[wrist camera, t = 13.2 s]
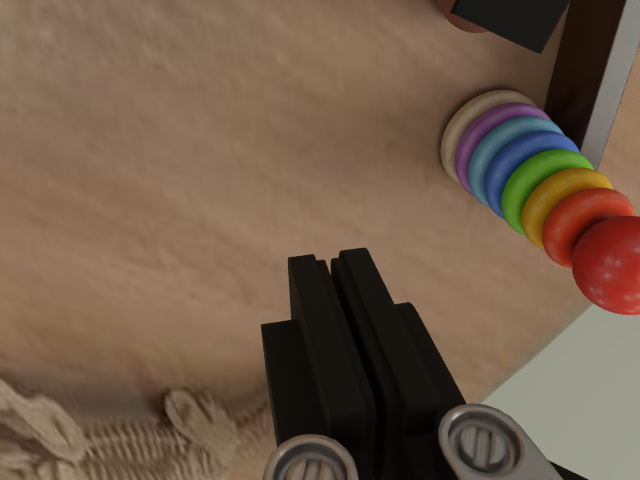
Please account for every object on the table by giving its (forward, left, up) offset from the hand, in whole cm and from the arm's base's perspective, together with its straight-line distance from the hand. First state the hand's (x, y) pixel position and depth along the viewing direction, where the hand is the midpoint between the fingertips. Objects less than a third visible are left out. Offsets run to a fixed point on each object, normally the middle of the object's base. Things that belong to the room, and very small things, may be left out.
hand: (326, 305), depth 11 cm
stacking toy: (+18, -8, -25) cm, 32 cm away
